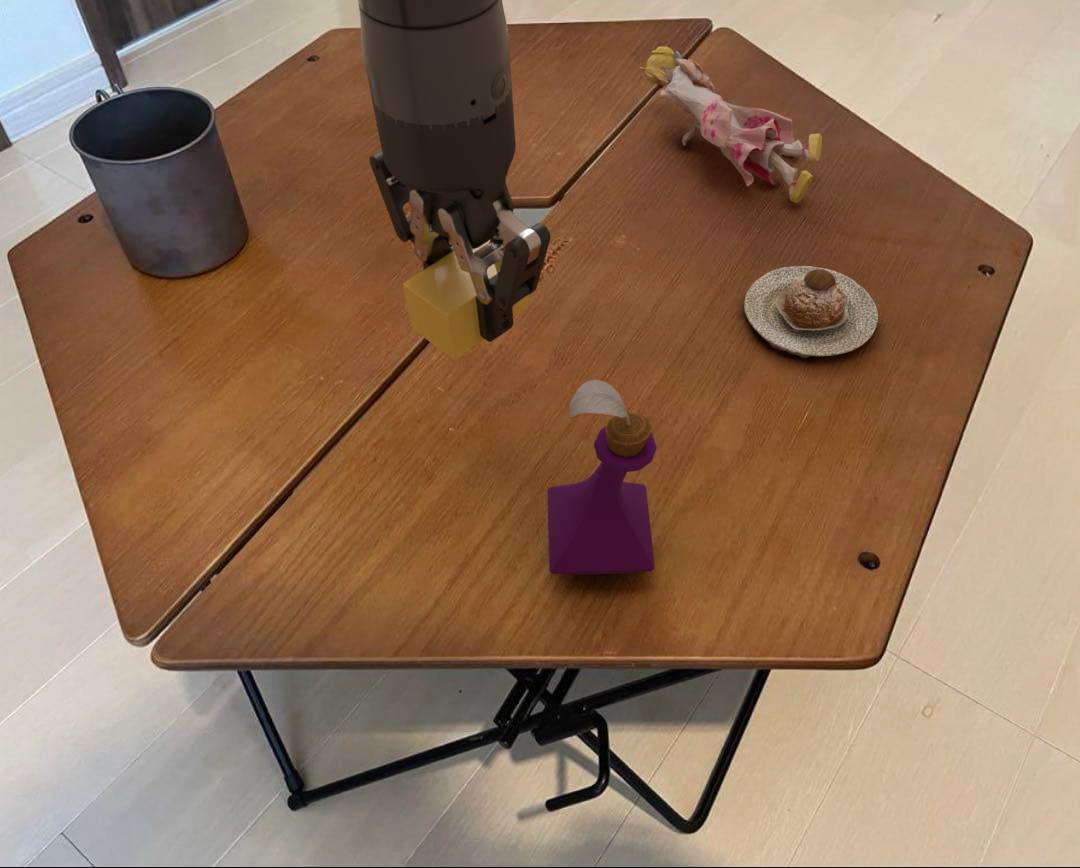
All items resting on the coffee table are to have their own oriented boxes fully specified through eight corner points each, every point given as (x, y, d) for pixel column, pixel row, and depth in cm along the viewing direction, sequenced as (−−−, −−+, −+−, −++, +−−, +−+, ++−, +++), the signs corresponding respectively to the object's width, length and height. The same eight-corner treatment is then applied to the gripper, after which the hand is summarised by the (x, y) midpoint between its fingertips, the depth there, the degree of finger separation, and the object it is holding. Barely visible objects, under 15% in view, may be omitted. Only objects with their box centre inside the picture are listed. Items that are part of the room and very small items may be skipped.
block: (454, 360, 59) (447, 316, 56) (411, 328, 61) (402, 283, 58) (530, 306, 62) (528, 260, 59) (486, 277, 64) (482, 231, 61)
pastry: (889, 362, 80) (904, 324, 76) (753, 366, 80) (762, 329, 77) (857, 272, 88) (869, 234, 84) (733, 276, 88) (740, 238, 84)
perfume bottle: (643, 508, 71) (659, 348, 57) (652, 592, 66) (672, 440, 52) (548, 511, 71) (541, 351, 57) (550, 595, 67) (543, 444, 53)
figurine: (765, 245, 96) (620, 114, 107) (848, 181, 97) (697, 57, 107) (768, 175, 85) (607, 35, 96) (863, 103, 86) (693, -27, 96)
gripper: (303, 61, 50) (361, 294, 63) (480, 164, 43) (503, 400, 56) (408, 11, 53) (442, 243, 66) (587, 100, 46) (585, 337, 59)
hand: (470, 314), depth 61 cm, fingers closed on block, 4 cm apart
